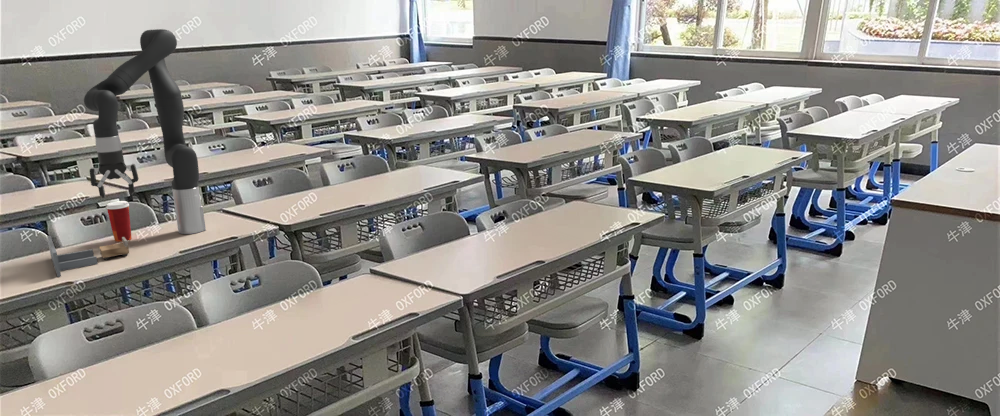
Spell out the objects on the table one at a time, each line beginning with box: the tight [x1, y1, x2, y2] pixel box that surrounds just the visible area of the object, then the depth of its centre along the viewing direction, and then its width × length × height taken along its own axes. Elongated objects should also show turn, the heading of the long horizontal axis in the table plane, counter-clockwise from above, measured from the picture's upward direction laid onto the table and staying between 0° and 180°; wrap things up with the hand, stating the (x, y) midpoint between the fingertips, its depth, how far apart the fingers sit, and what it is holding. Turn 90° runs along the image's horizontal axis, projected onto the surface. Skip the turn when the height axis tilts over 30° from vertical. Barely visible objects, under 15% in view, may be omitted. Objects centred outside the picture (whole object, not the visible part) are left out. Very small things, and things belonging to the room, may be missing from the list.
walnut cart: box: [99, 237, 130, 261], centre depth 242 cm, size 8×6×6 cm
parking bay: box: [46, 235, 98, 278], centre depth 235 cm, size 12×24×8 cm, turn 36°
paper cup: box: [105, 200, 132, 243], centre depth 261 cm, size 8×8×14 cm
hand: (117, 195), depth 243 cm, fingers open, 8 cm apart
